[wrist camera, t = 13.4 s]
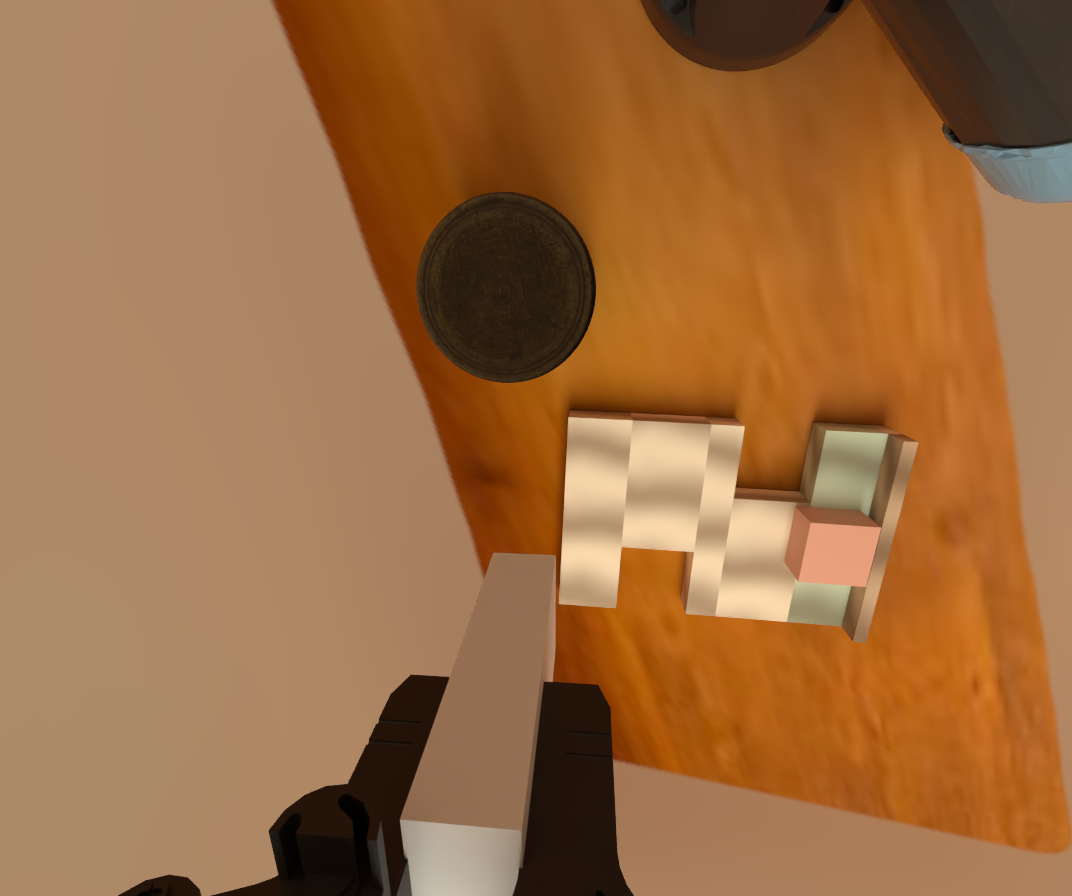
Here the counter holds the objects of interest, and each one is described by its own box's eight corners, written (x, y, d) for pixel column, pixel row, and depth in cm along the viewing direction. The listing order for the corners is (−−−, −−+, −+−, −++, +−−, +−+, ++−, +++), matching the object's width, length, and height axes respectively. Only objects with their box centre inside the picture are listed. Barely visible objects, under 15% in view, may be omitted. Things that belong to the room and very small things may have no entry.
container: (457, 275, 41) (366, 271, 24) (550, 200, 39) (522, 136, 22) (524, 369, 43) (484, 426, 26) (617, 302, 41) (640, 316, 24)
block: (795, 506, 42) (810, 522, 39) (861, 510, 41) (881, 527, 38) (784, 562, 43) (798, 581, 40) (847, 566, 43) (866, 586, 40)
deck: (569, 409, 43) (567, 423, 39) (884, 425, 42) (918, 442, 37) (560, 588, 49) (557, 617, 44) (840, 609, 47) (865, 642, 42)
